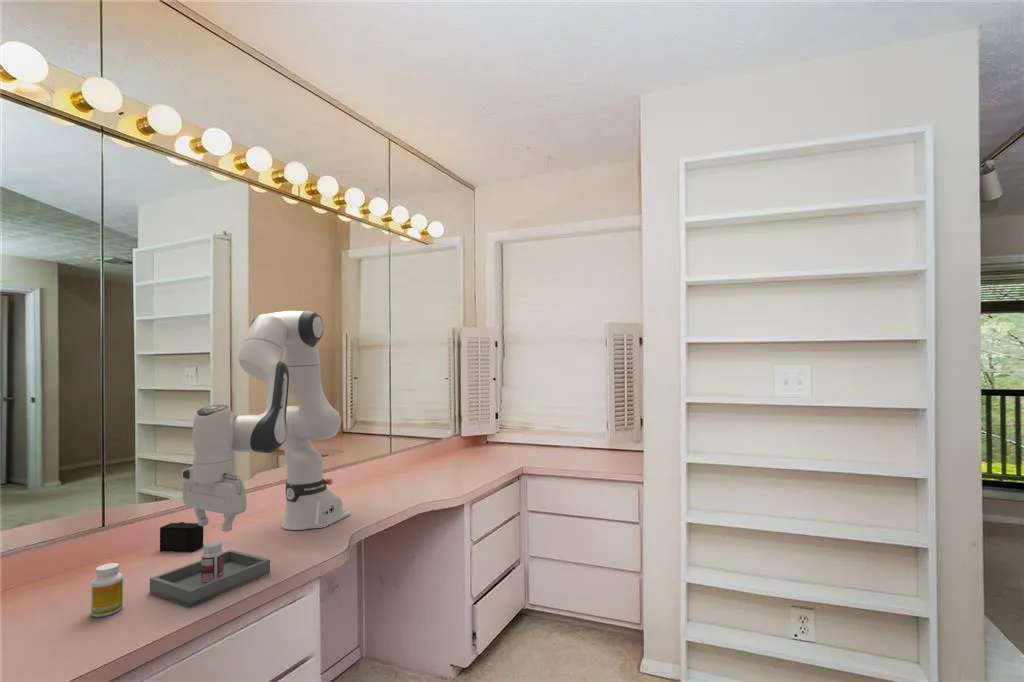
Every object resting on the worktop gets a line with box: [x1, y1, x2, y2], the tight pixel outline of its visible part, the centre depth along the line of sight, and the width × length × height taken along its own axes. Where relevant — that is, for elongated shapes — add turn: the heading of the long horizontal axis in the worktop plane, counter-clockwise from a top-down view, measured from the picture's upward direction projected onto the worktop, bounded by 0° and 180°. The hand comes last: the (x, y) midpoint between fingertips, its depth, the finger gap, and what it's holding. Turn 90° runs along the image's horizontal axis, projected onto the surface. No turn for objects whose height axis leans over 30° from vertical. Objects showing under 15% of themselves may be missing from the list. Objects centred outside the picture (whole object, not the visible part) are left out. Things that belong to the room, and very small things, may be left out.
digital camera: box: [159, 521, 204, 553], centre depth 149 cm, size 10×5×7 cm, turn 84°
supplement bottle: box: [90, 562, 124, 618], centre depth 111 cm, size 5×5×10 cm
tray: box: [149, 549, 271, 608], centre depth 125 cm, size 20×16×4 cm
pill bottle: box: [200, 540, 225, 582], centre depth 125 cm, size 5×5×8 cm
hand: (214, 528), depth 126 cm, fingers open, 8 cm apart
